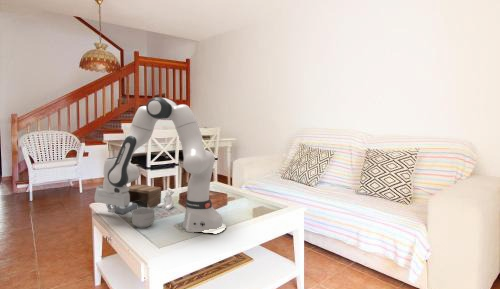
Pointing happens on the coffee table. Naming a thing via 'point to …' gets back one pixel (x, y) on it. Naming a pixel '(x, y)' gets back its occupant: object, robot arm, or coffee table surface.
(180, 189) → the coffee table surface
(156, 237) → the coffee table surface
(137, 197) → the wooden plank crate
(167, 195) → the seated beast figurine
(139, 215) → the teacup
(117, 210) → the tray
